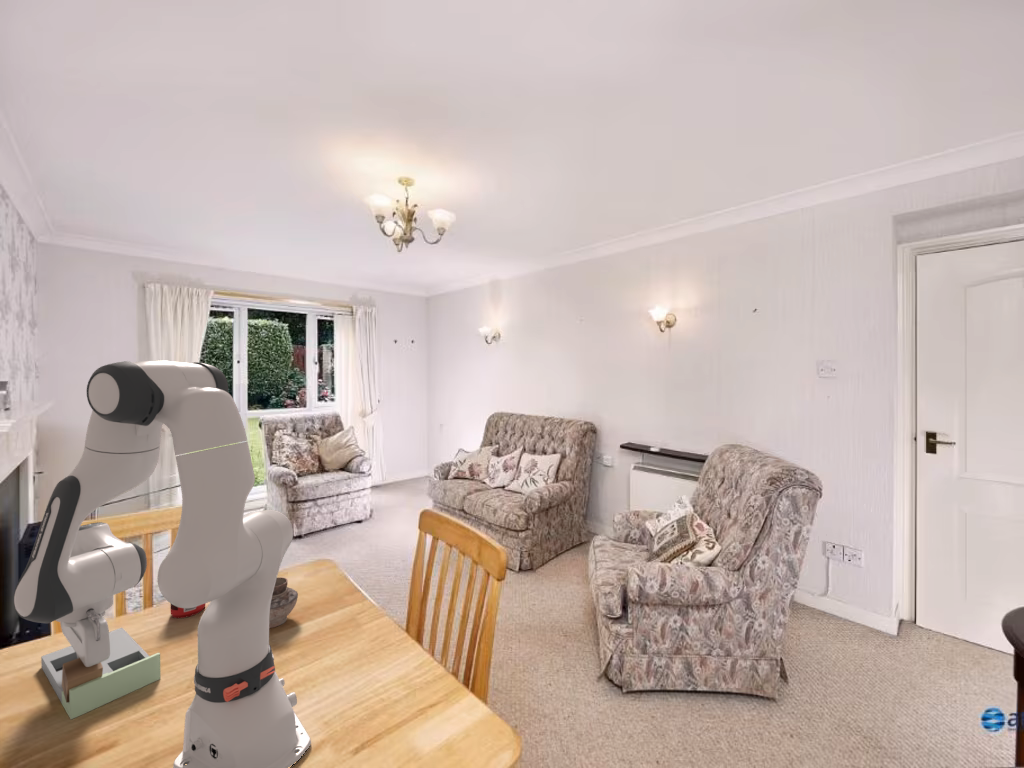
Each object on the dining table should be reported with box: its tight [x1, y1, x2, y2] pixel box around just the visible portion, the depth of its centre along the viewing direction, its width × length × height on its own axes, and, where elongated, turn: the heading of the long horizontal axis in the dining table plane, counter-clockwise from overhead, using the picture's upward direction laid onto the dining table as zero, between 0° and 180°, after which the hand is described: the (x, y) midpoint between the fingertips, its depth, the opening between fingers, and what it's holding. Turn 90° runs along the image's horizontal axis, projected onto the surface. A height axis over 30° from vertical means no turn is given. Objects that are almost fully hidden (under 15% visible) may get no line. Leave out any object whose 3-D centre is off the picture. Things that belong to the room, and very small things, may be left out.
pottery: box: [269, 576, 299, 629], centre depth 120 cm, size 11×25×12 cm, turn 74°
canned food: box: [170, 603, 207, 619], centre depth 124 cm, size 8×8×11 cm
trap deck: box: [40, 627, 161, 720], centre depth 98 cm, size 26×14×6 cm, turn 55°
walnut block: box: [62, 658, 103, 703], centre depth 89 cm, size 5×5×5 cm
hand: (85, 668), depth 92 cm, fingers closed
